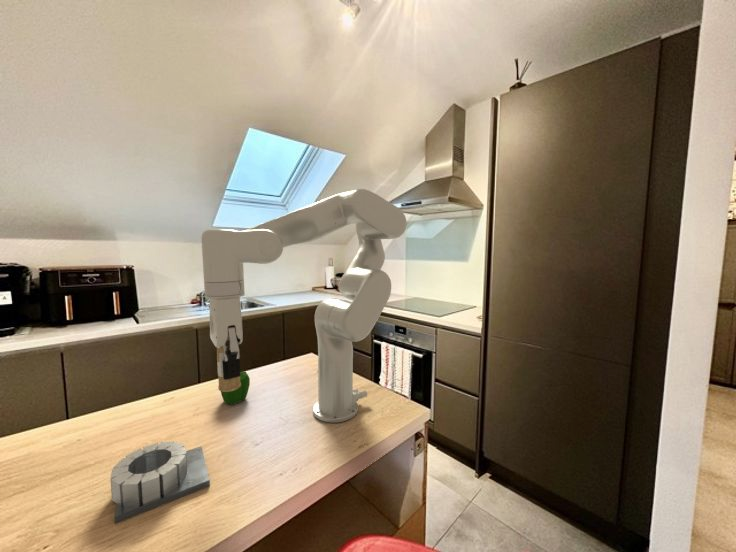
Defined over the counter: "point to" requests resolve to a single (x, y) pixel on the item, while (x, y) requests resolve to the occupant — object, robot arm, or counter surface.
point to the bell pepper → (237, 391)
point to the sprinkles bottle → (223, 384)
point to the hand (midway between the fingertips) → (229, 372)
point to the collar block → (156, 477)
